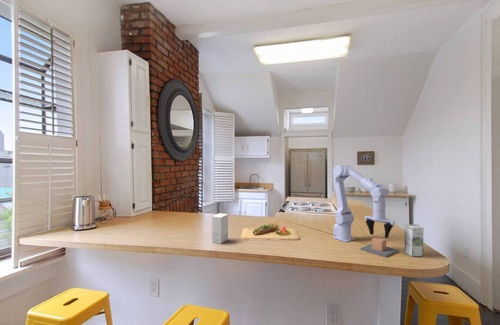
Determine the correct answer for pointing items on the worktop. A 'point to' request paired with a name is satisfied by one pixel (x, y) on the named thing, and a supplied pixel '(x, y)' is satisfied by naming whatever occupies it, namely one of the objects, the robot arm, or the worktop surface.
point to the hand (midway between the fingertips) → (379, 236)
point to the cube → (379, 244)
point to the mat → (383, 253)
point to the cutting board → (270, 233)
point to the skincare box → (219, 228)
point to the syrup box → (414, 240)
